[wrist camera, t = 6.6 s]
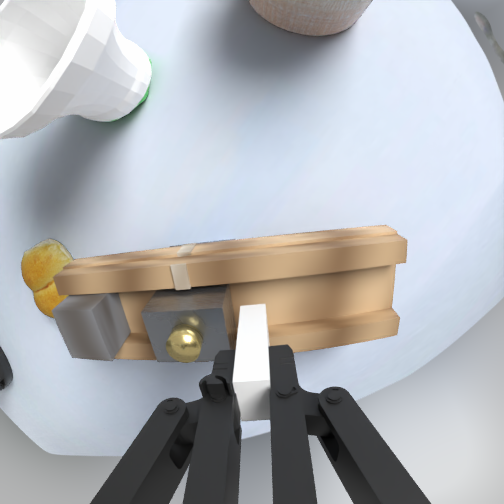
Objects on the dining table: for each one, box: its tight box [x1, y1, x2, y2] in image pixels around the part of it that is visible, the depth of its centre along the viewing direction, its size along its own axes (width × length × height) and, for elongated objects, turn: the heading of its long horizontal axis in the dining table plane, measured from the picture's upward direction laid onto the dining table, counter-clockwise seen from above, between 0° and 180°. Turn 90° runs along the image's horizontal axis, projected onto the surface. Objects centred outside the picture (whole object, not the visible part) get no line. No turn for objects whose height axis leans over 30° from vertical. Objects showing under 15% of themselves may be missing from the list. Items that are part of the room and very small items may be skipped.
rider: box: [141, 284, 236, 363], centre depth 18 cm, size 5×4×5 cm
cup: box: [0, 0, 152, 139], centre depth 14 cm, size 11×11×14 cm
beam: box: [51, 225, 407, 362], centre depth 21 cm, size 26×8×10 cm, turn 96°
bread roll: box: [21, 239, 73, 318], centre depth 25 cm, size 8×9×4 cm
